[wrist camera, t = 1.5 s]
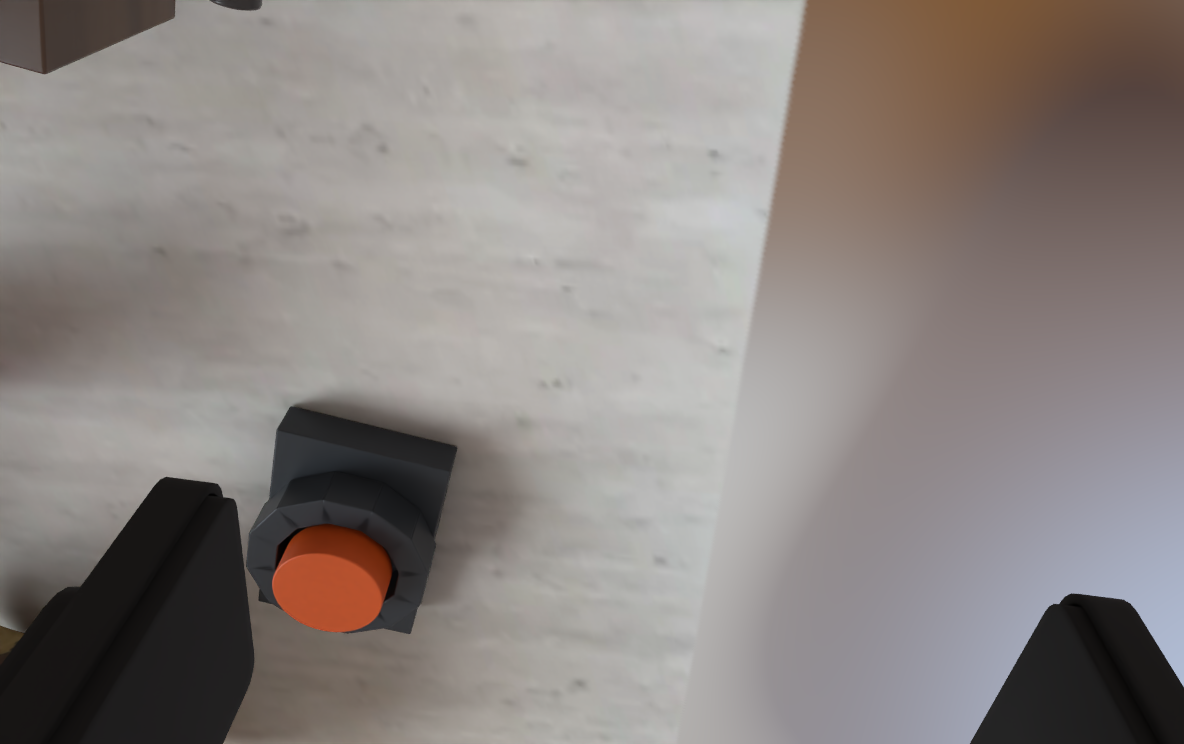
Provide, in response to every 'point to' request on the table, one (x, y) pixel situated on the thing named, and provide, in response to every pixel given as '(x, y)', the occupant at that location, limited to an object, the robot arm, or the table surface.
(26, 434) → the table surface
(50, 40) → the drawer
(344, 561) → the button
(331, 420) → the button block
